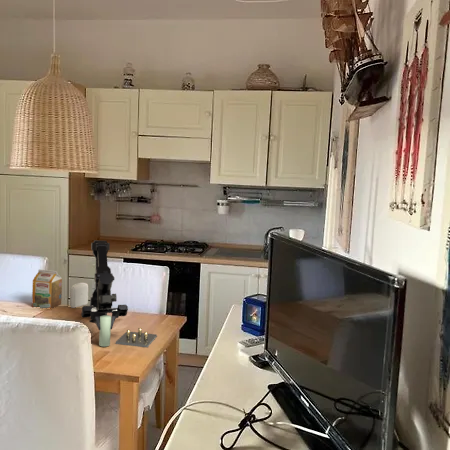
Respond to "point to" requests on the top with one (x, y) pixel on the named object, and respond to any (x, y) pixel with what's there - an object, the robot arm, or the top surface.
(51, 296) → the milk carton
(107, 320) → the mint green tapered post
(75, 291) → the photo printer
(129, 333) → the chassis plate
